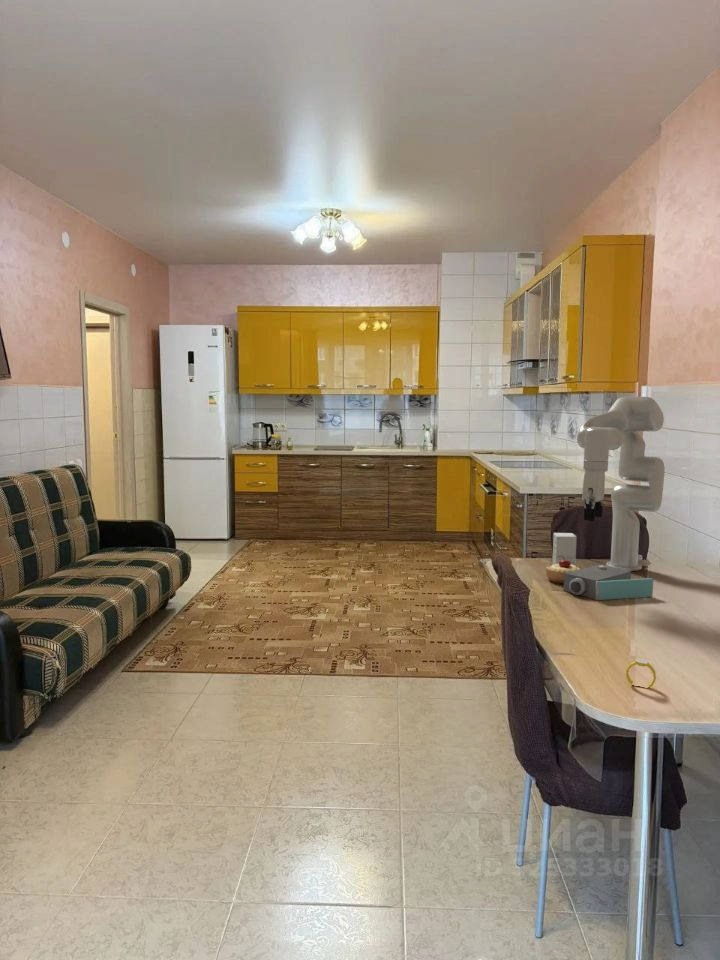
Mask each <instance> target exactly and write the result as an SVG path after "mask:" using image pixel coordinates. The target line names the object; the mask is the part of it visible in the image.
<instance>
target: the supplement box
mask: <svg viewBox="0 0 720 960" xmlns="http://www.w3.org/2000/svg"><path fill="white" fill-rule="evenodd" d="M552 536H553V538H552V539H553V541H552V544H553V545H552V565H553V564H557V563H559V561H561V560H564V559H565V560H568V561H570V562H571V565H576V561H577V539H578V537H577V535H576V534H574V533H572V532H553V535H552ZM558 556H560V557H559V558H558V559H557V557H558ZM561 556H562V557H561ZM563 557H564V558H563ZM576 566H577V565H576Z"/></svg>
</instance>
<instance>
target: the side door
mask: <svg viewBox="0 0 720 960" xmlns="http://www.w3.org/2000/svg"><path fill="white" fill-rule="evenodd" d="M653 592H654V578H652V577H651V578H649V577H647V578H646V577H645V578H633V579H632V578H631V579H628V580H611V581H596V592H595V599H594V600H595V601H603V600H606V601H607V600H619V599H623V600H624V599H635V598H636V599H637V598H650V597H651V598H652V597H653Z"/></svg>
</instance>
